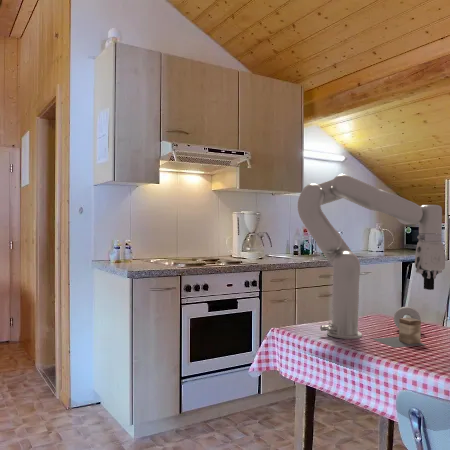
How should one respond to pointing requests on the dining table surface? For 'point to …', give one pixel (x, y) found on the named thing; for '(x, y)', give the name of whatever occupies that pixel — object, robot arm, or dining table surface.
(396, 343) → the mat
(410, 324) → the tall block
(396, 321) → the donut
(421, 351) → the dining table surface
